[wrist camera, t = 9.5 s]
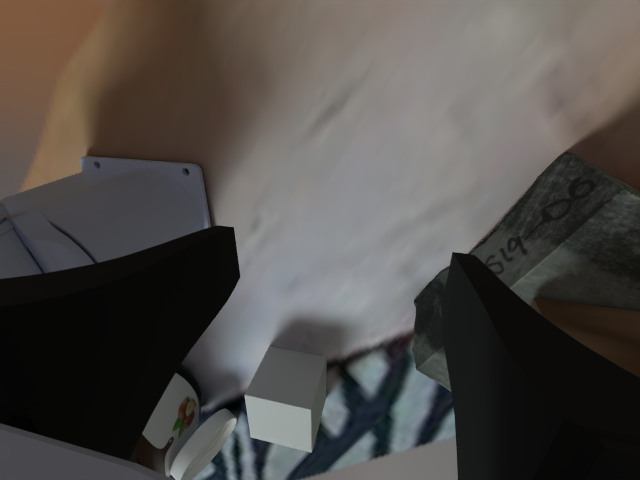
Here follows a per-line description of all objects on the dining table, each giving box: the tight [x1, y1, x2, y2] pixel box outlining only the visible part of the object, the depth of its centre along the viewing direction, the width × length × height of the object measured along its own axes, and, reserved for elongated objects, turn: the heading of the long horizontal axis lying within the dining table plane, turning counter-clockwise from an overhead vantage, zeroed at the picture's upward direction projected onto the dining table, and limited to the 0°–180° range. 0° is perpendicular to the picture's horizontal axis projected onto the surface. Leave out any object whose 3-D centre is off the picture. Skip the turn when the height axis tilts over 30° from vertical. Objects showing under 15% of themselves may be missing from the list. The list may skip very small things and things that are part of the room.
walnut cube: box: [530, 298, 640, 377], centre depth 15 cm, size 5×5×5 cm
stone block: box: [412, 152, 640, 391], centre depth 19 cm, size 9×14×5 cm, turn 153°
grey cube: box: [245, 346, 327, 453], centre depth 28 cm, size 5×5×5 cm
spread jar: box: [129, 366, 237, 480], centre depth 30 cm, size 12×11×12 cm
